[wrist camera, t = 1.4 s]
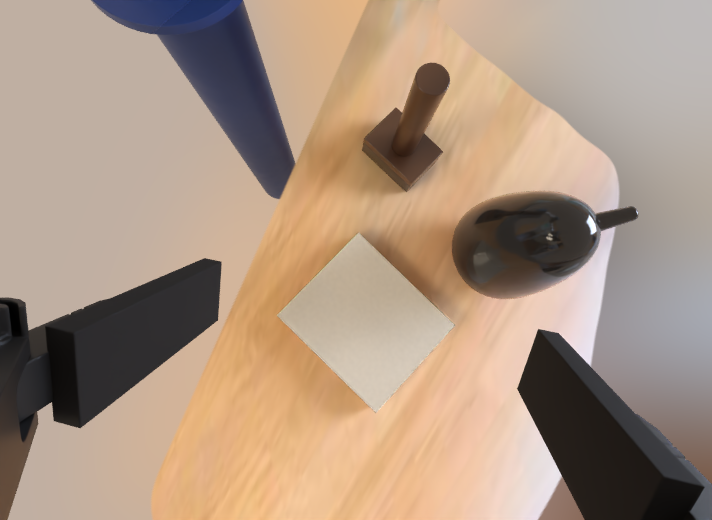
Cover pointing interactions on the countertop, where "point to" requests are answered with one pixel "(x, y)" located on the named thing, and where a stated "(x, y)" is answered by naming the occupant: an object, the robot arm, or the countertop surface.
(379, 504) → the countertop surface
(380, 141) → the brown peg on base
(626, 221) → the black pear
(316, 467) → the countertop surface
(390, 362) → the tile
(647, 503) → the robot arm
